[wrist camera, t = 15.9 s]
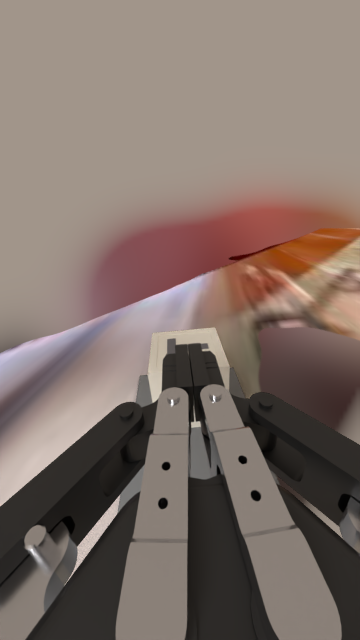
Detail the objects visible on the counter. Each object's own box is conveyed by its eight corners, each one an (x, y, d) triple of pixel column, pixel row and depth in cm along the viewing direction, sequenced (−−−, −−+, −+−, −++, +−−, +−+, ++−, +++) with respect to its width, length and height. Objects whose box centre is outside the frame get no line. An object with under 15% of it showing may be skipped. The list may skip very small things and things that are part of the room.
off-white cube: (214, 327, 30) (215, 377, 34) (152, 333, 30) (159, 382, 34) (229, 366, 23) (228, 424, 27) (147, 373, 23) (157, 430, 26)
